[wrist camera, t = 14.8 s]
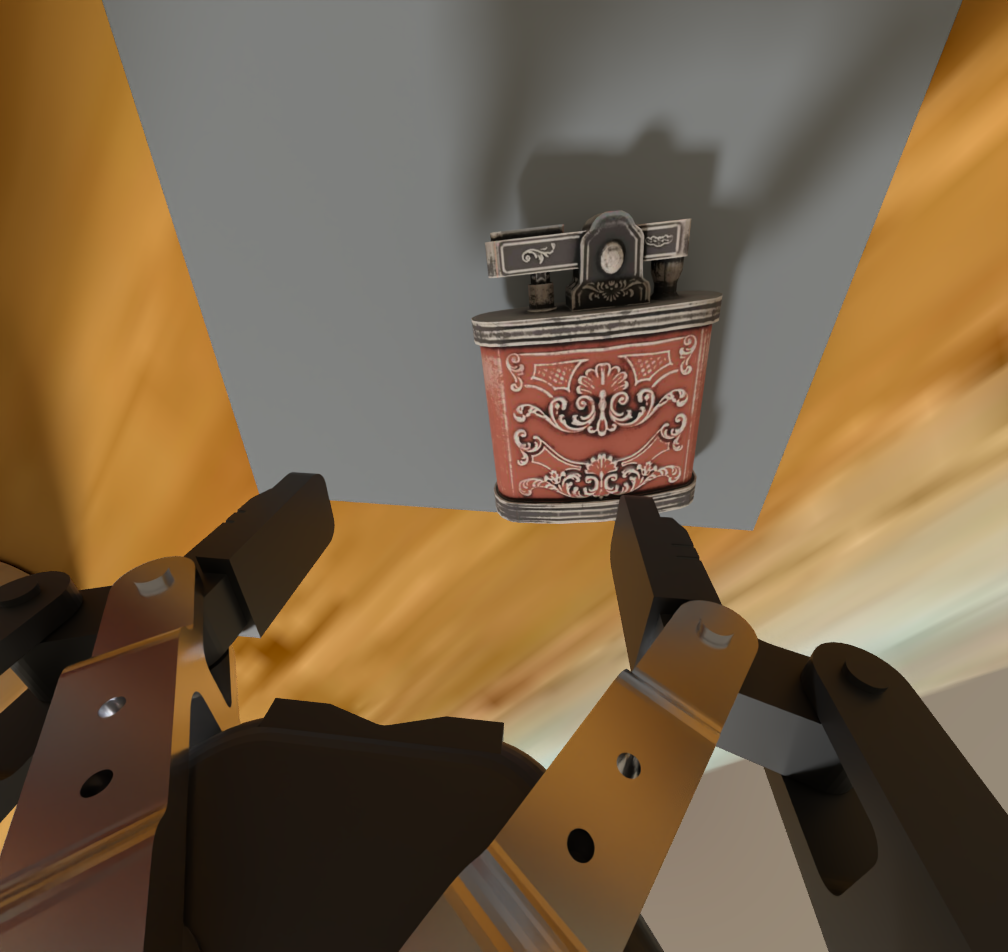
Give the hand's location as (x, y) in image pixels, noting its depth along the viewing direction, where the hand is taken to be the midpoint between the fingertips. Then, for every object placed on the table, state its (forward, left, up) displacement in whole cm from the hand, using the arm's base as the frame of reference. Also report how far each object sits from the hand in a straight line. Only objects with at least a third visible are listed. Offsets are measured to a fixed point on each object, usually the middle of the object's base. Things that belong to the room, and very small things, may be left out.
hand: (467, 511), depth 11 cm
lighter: (+4, -3, -6) cm, 8 cm away
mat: (0, +5, -8) cm, 9 cm away
